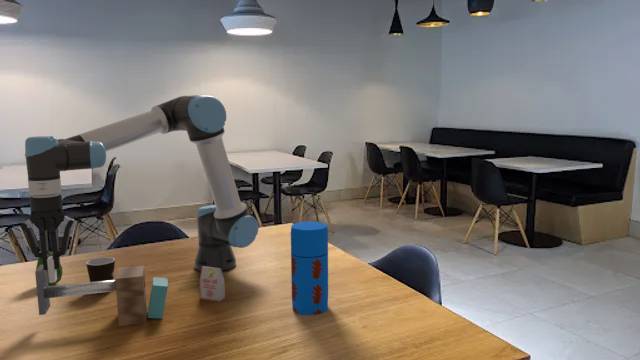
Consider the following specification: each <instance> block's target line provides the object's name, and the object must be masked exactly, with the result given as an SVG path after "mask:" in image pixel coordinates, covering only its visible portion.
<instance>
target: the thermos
mask: <svg viewBox="0 0 640 360" xmlns="http://www.w3.org/2000/svg"><path fill="white" fill-rule="evenodd" d="M328 228H329V227H328V224H326V223H324V222H320V221H302V222H301V221H300V222H296V223H293V224H292V225H291V228H290V265H291V266H290V269H291V270H290V271H291V272H290V275H291V276H290V279H291V302H292V303H291V304H292V306H291V307H292V310H293V311H294V312H295V313H296V314H298V315H299V314H300V315H303V314H304V316H305V315H306V316H313V315H315V314H316V315H318V314H323V313H325V312H326V311H327V310H328V306H329V303H328V302H329V229H328ZM316 315H315V316H316Z"/></svg>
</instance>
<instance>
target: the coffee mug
mask: <svg viewBox="0 0 640 360" xmlns="http://www.w3.org/2000/svg"><path fill="white" fill-rule="evenodd" d="M115 262H116V259H115V258H114V257H111V256H103V257H96V258H92V259H89V260H87V261H86V263H85V264H86V269H87V272H88V273H87V274H88V279H89V282H97V281H107V280H115V266H116V263H115ZM109 293H110V292H104V293H94V295H105V294H109Z"/></svg>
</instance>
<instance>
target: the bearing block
mask: <svg viewBox="0 0 640 360" xmlns="http://www.w3.org/2000/svg"><path fill="white" fill-rule="evenodd" d="M115 280H116V291H115V292H116V304H117V307H116V308H117V318H118V319H117V320H118V327H122V326H123V327H124V326H130V325H131V326H132V325H138V324H146V323H147V313H148V312H147V310H148V306H147V293H146V274H145V265H135V266H134V265H133V266H124V267H118V268H117V272H116V276H115Z"/></svg>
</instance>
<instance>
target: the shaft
mask: <svg viewBox="0 0 640 360" xmlns="http://www.w3.org/2000/svg"><path fill="white" fill-rule="evenodd" d="M34 275H35V285H36V295H37V306H38V307H37V308H38V315H39V316H44V315H47V313H48V311H49V309H50V308H51V301H50V299H54V298H55V299H56V298H63V297H74V296H83V295H92V294H94V293H104V292H109V293H111V292H116V279H114V280H107V281H97V282H90V281H88V282H87V281H86V282H80V283H79V282H78V283H68V284H60V285H59V284H58V285H52V286H48V276H47V270H44V268H43V265H40V266H39V267H38V269H37V270H36V269H35V272H34ZM94 295H95V294H94Z"/></svg>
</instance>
